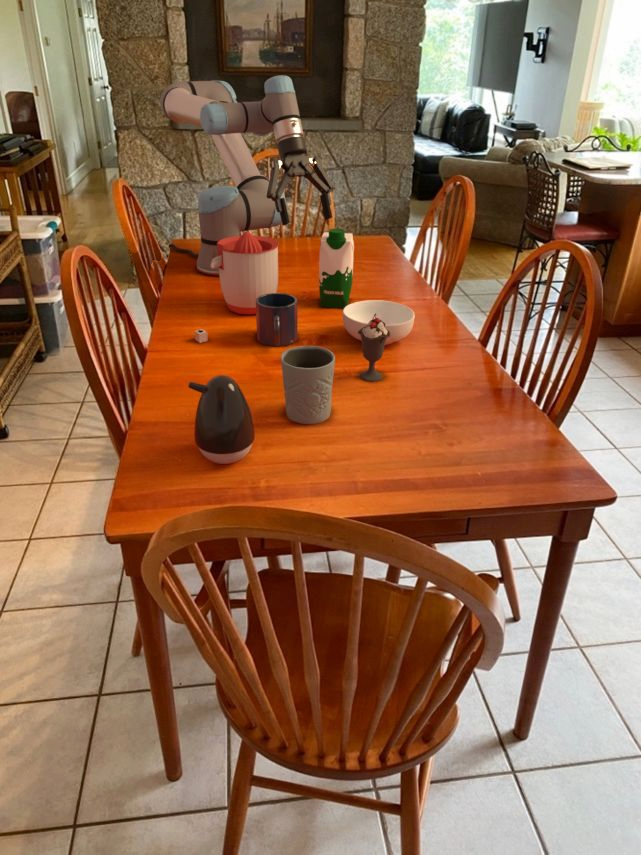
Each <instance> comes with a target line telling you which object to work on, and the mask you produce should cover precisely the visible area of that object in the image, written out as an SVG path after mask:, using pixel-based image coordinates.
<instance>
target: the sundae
mask: <svg viewBox="0 0 641 855" xmlns="http://www.w3.org/2000/svg"><path fill="white" fill-rule="evenodd" d="M374 316H376V313H375V314H374ZM373 318H374V317H373ZM358 334H359V335H361V340H362V341H361V340H360V341H361V349H362V350H361V351H362V357H363V358H364V359H365V360H366V361H368V369H367V370H364V371H361V372H360V374H359V377H360V379H362V380H364V381H366V382H377V381H380V380H382V379H383V377H384V376H383V373H381V372H380V371H377V370H376V368H375V365H376V362H377V361H379V360H381V359H382V357H383V353H384V350H385V346H386V345H385V341H386V338H388V337H390V332H389V330H388V329H386V328H385V323H384V322H383V321H381V320H380V319H379V318H376V317H375V319H372V320H371V321H370V322H369V323H368V325H367V326H366V327H363V328H361V329H360V330H359V331H358Z"/></svg>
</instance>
